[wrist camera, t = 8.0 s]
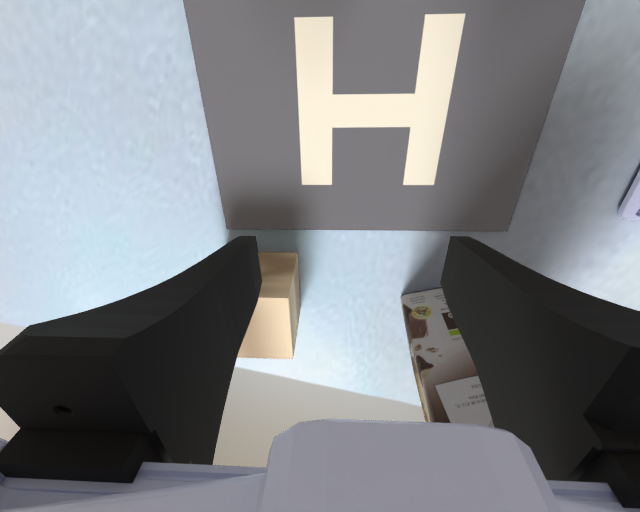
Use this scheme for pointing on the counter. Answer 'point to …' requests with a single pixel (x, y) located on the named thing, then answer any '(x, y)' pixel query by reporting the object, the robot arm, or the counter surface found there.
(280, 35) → the letter mat
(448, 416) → the coffee box
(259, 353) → the oak block
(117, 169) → the counter surface
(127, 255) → the counter surface
